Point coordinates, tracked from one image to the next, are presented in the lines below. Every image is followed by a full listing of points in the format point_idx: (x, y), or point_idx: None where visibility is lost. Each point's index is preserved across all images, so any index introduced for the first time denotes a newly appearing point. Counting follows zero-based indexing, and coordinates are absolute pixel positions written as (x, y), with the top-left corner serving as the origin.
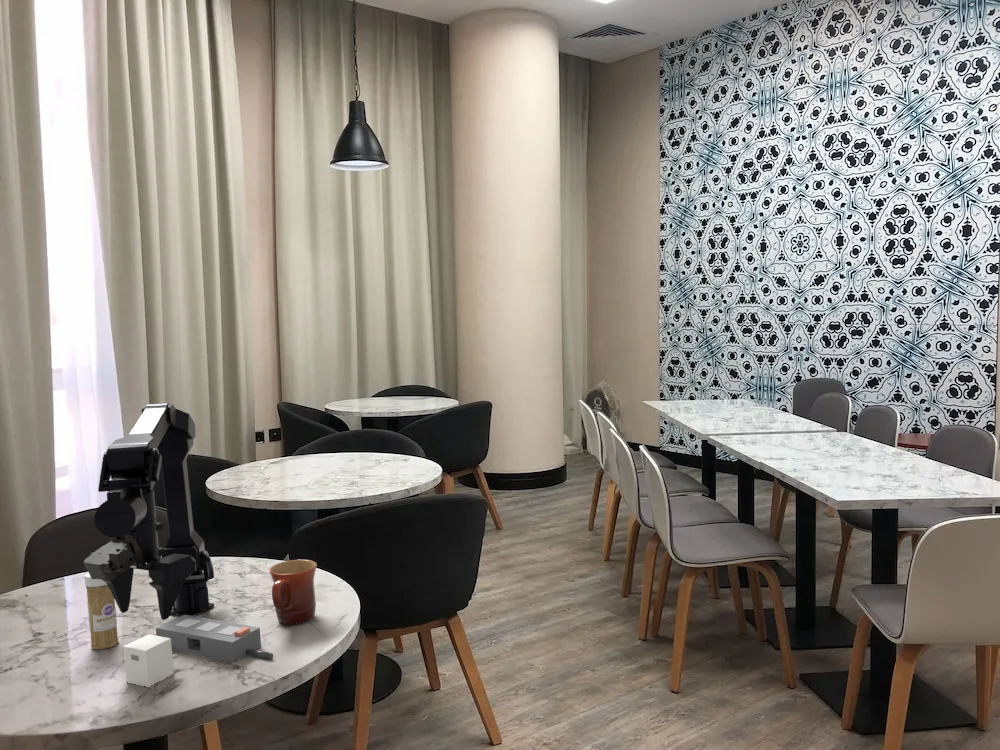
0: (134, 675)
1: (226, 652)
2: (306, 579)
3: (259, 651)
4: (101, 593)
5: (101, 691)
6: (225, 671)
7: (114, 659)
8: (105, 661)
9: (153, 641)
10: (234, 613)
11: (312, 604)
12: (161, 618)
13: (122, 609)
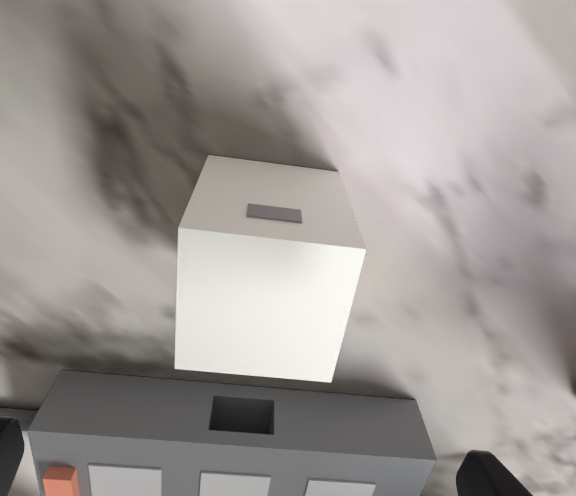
0: (288, 179)
1: (83, 396)
2: None
3: None
4: None
5: (393, 78)
6: (31, 318)
7: (518, 309)
8: (545, 291)
9: (237, 328)
10: None
11: None
12: (3, 423)
13: (482, 475)
